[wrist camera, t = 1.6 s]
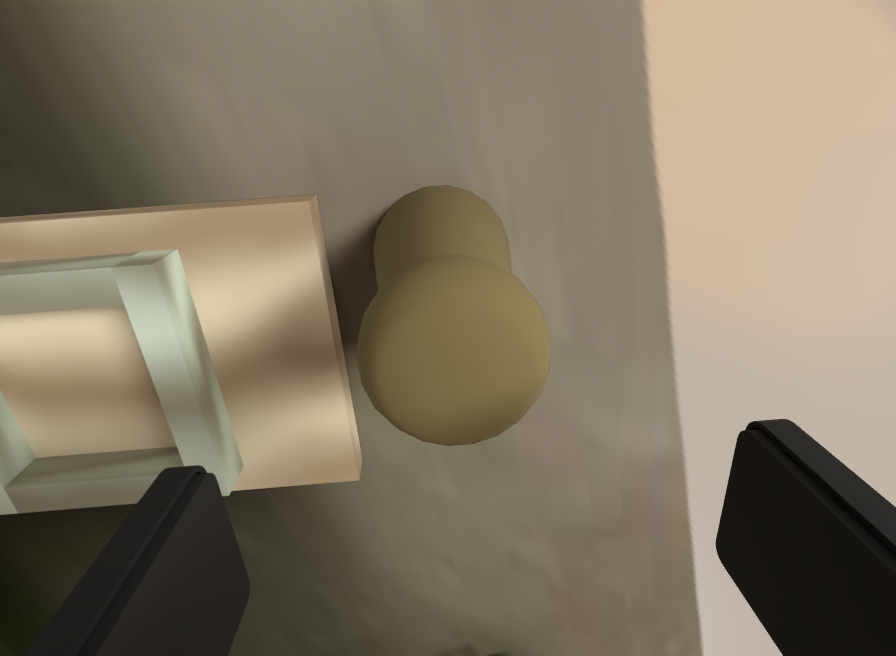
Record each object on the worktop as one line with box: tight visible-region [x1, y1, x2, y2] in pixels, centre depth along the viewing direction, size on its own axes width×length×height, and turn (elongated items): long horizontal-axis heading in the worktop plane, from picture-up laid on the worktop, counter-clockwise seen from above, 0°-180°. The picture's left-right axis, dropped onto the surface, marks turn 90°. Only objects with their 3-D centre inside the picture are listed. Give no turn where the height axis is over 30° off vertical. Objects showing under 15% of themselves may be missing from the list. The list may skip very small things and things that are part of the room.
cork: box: [356, 185, 550, 446], centre depth 17 cm, size 6×6×11 cm
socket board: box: [0, 195, 362, 515], centre depth 21 cm, size 14×22×4 cm, turn 94°
